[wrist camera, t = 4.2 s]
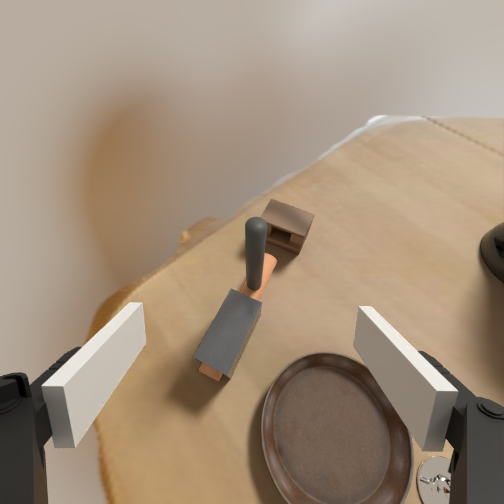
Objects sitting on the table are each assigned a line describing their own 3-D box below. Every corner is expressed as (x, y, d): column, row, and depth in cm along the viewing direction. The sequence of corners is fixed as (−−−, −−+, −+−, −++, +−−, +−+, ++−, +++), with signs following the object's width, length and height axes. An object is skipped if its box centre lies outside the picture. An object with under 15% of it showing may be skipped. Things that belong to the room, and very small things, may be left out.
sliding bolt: (219, 382, 33) (196, 367, 18) (200, 371, 34) (162, 348, 19) (276, 266, 42) (290, 193, 27) (259, 259, 42) (265, 184, 28)
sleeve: (230, 379, 35) (227, 375, 30) (200, 363, 36) (192, 356, 31) (260, 315, 40) (262, 302, 35) (233, 302, 41) (231, 288, 36)
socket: (298, 254, 45) (304, 236, 40) (258, 238, 47) (259, 219, 42) (307, 234, 48) (314, 214, 43) (269, 219, 49) (271, 198, 44)
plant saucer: (246, 498, 29) (245, 508, 26) (273, 342, 38) (275, 338, 35) (405, 548, 27) (422, 563, 24) (395, 371, 36) (407, 369, 33)
